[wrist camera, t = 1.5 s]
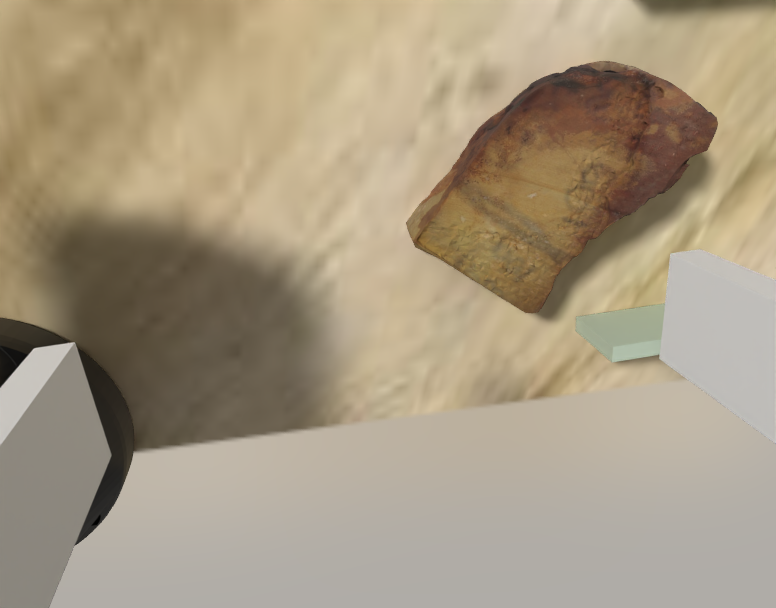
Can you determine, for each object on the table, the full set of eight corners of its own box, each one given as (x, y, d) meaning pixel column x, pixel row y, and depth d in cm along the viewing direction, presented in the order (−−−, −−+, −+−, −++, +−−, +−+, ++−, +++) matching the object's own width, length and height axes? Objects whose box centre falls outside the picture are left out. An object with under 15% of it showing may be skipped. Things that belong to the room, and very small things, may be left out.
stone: (492, 311, 36) (524, 346, 32) (388, 213, 33) (406, 236, 28) (674, 129, 34) (738, 137, 29) (582, 5, 31) (637, -9, 26)
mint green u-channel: (575, 330, 38) (612, 362, 34) (594, -64, 29) (646, -86, 25) (788, 298, 40) (847, 324, 36) (863, -80, 31) (951, -103, 27)
